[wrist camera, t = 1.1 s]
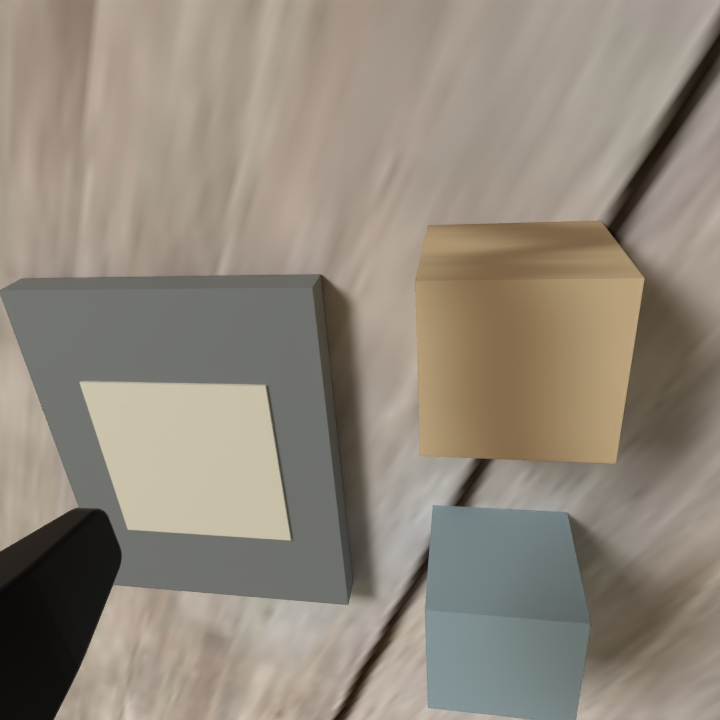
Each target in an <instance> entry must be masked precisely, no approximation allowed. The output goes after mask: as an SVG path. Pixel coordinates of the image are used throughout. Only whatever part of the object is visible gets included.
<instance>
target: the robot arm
mask: <svg viewBox="0 0 720 720" xmlns="http://www.w3.org/2000/svg"><path fill="white" fill-rule="evenodd" d="M121 561H122V552H121V547H120V545H119V542H118V539H117V537H116V534H115V532H114V529H113V526H112V524H111V521H110V519H109V516H108V514H107V513H106V512H105V511H104V510H102V509H100V508H75V509H73V510H71V511H69V512H67V513H65V514H64V515H62V516H60V517H59V518H57V519H55V520H53V521H52V522H50V523H48V524H47V525H45V526H43V527H41V528H40V529H38V530H36V531H35V532H33V533H31V534H29V535H28V536H26V537H24V538H23V539H21V540H19V541H18V542H16V543H14V544H12V545H11V546H9V547H7V548H6V549H4V550H2V551H0V720H54V718H55V716H56V714H57V712H58V710H59V708H60V706H61V704H62V703H63V701H64V699H65V697H66V695H67V693H68V691H69V689H70V687H71V685H72V683H73V681H74V678H75V676H76V674H77V672H78V670H79V668H80V666H81V663H82V661H83V659H84V656H85V654H86V652H87V649H88V647H89V644H90V642H91V639H92V637H93V634H94V632H95V629H96V627H97V624H98V622H99V619H100V617H101V614H102V612H103V609H104V606H105V604H106V601H107V599H108V596H109V594H110V591H111V589H112V586H113V584H114V581H115V579H116V576H117V574H118V571H119V569H120V565H121Z"/></svg>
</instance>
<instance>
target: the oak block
mask: <svg viewBox="0 0 720 720" xmlns="http://www.w3.org/2000/svg"><path fill="white" fill-rule="evenodd" d="M644 279H645V278H644V277H643V276H642V274H641V273H640V272H639V270H638V269H637V268H636V266H635V265H634V264H633V262H632V261H631V260H630V258H629V257H628V256H627V255H626V253H625V252H624V251H623V249H622V248H621V247H620V245H619V244H618V243H617V241H616V240H615V239H614V237H613V236H612V235H611V234H610V232H609V231H608V230H607V228H606V227H605V226H604V224H603V223H602V222H601V221H572V222H535V223H499V224H462V225H428V227H427V231H426V235H425V240H424V244H423V249H422V253H421V257H420V262H419V266H418V271H417V275H416V279H415V293H416V328H417V362H418V397H419V431H420V456H436V457H461V458H487V459H512V460H537V461H563V462H588V463H613V464H616V458H617V452H618V446H619V439H620V433H621V426H622V420H623V413H624V407H625V401H626V394H627V388H628V381H629V375H630V369H631V362H632V356H633V349H634V343H635V336H636V330H637V324H638V317H639V311H640V304H641V298H642V292H643V285H644Z"/></svg>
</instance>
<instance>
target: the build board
mask: <svg viewBox="0 0 720 720" xmlns="http://www.w3.org/2000/svg"><path fill="white" fill-rule="evenodd" d="M0 295H1V298H2V301H3V303H4V306H5V309H6V311H7V314H8V317H9V319H10V322H11V325H12V328H13V330H14V333H15V336H16V338H17V341H18V344H19V347H20V349H21V352H22V355H23V357H24V360H25V363H26V366H27V368H28V371H29V374H30V376H31V379H32V382H33V384H34V387H35V390H36V393H37V395H38V398H39V401H40V403H41V406H42V409H43V412H44V414H45V417H46V420H47V422H48V425H49V428H50V430H51V433H52V436H53V439H54V441H55V444H56V447H57V449H58V452H59V455H60V458H61V460H62V463H63V466H64V468H65V471H66V474H67V477H68V479H69V482H70V485H71V487H72V490H73V493H74V495H75V498H76V501H77V504H78V506H79V508H100V509H102V510H104V511H105V512H106V513H107V514H108V516H109V519H110V521H111V524H112V526H113V529H114V532H115V534H116V537H117V539H118V542H119V545H120V547H121V552H122V561H121V565H120V569H119V571H118V574H117V576H116V579H115V581H114V584H113V585H120V586H131V587H143V588H155V589H167V590H178V591H190V592H202V593H214V594H226V595H237V596H249V597H261V598H273V599H284V600H296V601H308V602H320V603H332V604H343V605H348V604H349V599H350V594H351V590H352V585H353V576H352V567H351V557H350V548H349V538H348V529H347V519H346V510H345V500H344V491H343V481H342V472H341V462H340V453H339V444H338V434H337V425H336V415H335V406H334V396H333V387H332V377H331V368H330V358H329V349H328V339H327V330H326V320H325V311H324V301H323V292H322V282H321V274H317V275H246V276H174V277H102V278H31V279H20V280H18V281H16V282H15V283H13V284H11V285H9V286H7V287H5V288H3V289H1V290H0Z"/></svg>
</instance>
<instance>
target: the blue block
mask: <svg viewBox="0 0 720 720" xmlns="http://www.w3.org/2000/svg"><path fill="white" fill-rule="evenodd" d="M425 626H426V659H427V692H428V708H433V709H443V710H452V711H461V712H470V713H479V714H488V715H497V716H506V717H515V718H524V719H533V720H576V716H577V710H578V704H579V697H580V691H581V684H582V678H583V671H584V665H585V659H586V652H587V646H588V639H589V633H590V626H591V622H590V617H589V613H588V608H587V603H586V599H585V594H584V589H583V585H582V580H581V575H580V571H579V566H578V561H577V556H576V552H575V547H574V542H573V538H572V533H571V528H570V524H569V519H568V514H567V512H550V511H531V510H512V509H493V508H475V507H456V506H437V505H433V510H432V524H431V537H430V550H429V564H428V577H427V590H426V604H425Z"/></svg>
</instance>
